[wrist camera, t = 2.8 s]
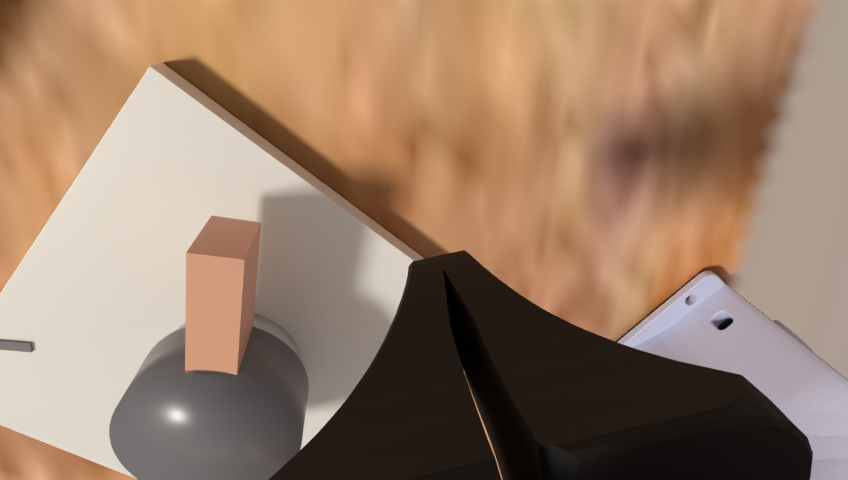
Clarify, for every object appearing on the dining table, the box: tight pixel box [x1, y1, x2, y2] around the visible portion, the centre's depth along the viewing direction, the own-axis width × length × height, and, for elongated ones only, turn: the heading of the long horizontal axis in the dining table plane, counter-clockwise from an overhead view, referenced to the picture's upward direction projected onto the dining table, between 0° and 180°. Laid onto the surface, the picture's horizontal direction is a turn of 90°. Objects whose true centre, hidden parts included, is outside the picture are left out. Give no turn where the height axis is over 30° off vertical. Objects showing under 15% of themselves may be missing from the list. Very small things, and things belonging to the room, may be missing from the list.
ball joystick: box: [109, 216, 309, 480], centre depth 16 cm, size 10×6×2 cm, turn 168°
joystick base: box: [0, 63, 465, 479], centre depth 19 cm, size 16×16×2 cm
